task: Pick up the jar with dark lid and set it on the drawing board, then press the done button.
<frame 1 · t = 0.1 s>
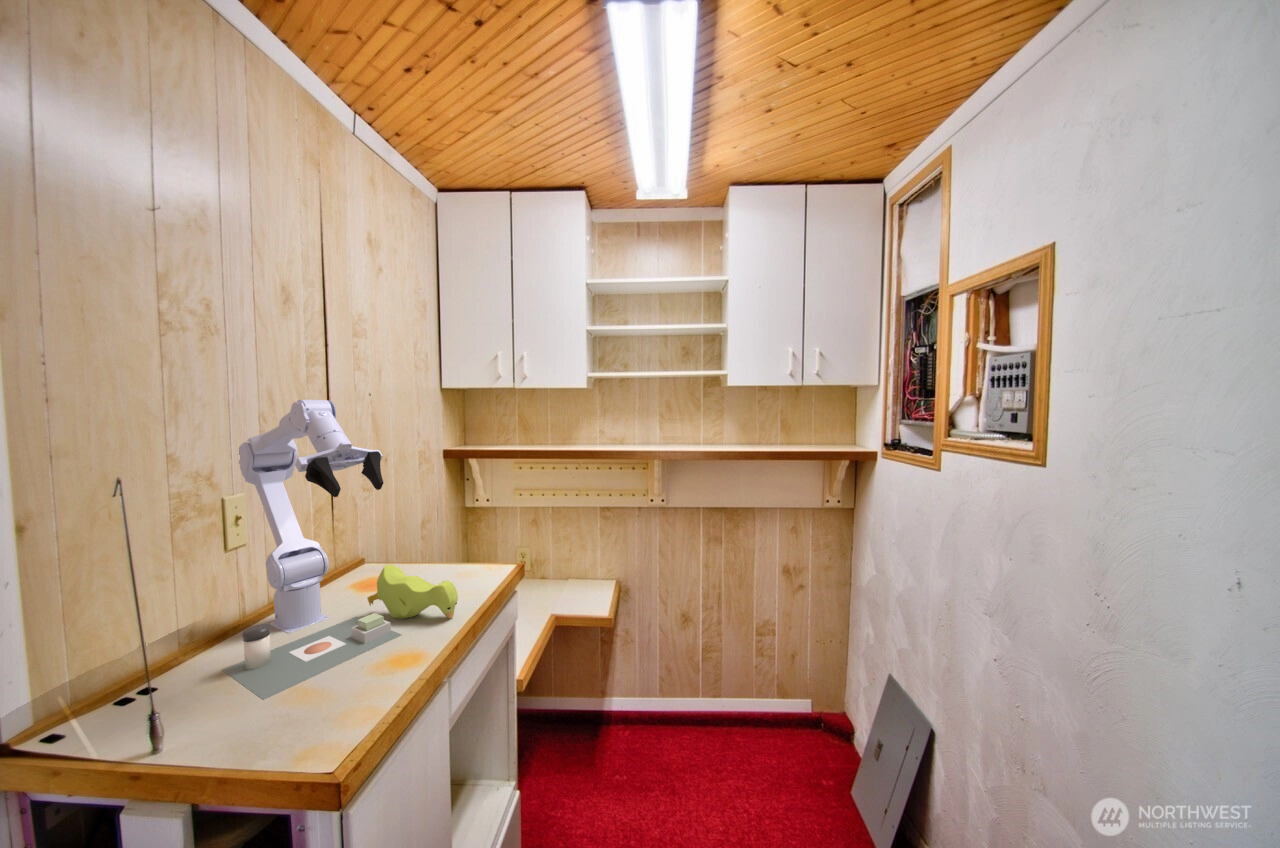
hand: (359, 489, 83), 32 cm above the counter, tool tilted 50°, fingers open, 7 cm apart
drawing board: (317, 653, 85), on the counter
done button: (370, 623, 90), point 3 cm above the counter, slide at 0.0 cm
jar with dark lid: (258, 664, 81), resting on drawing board
toy: (414, 617, 100), on the counter
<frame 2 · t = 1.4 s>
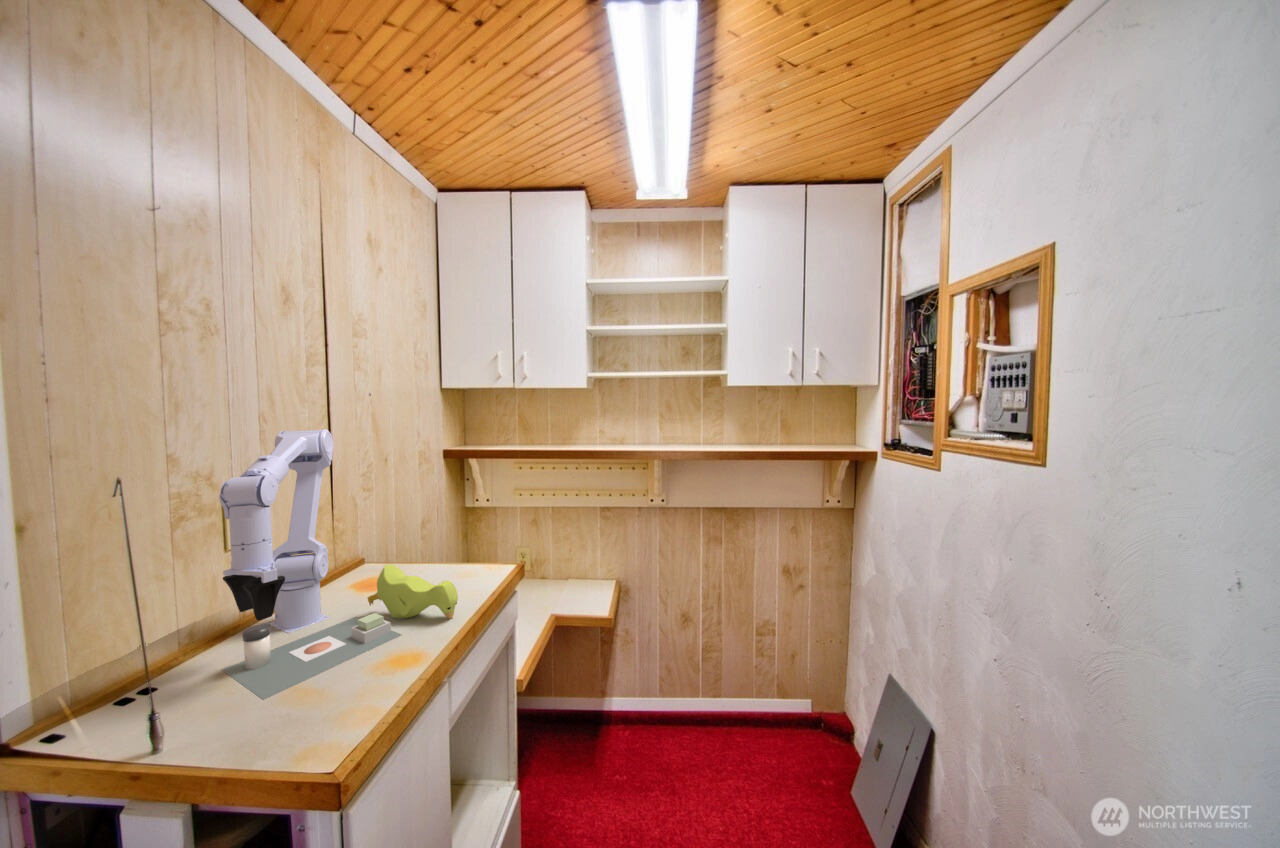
hand: (255, 613, 80), 10 cm above the counter, tool pointing down, fingers open, 7 cm apart
nothing on the counter moved.
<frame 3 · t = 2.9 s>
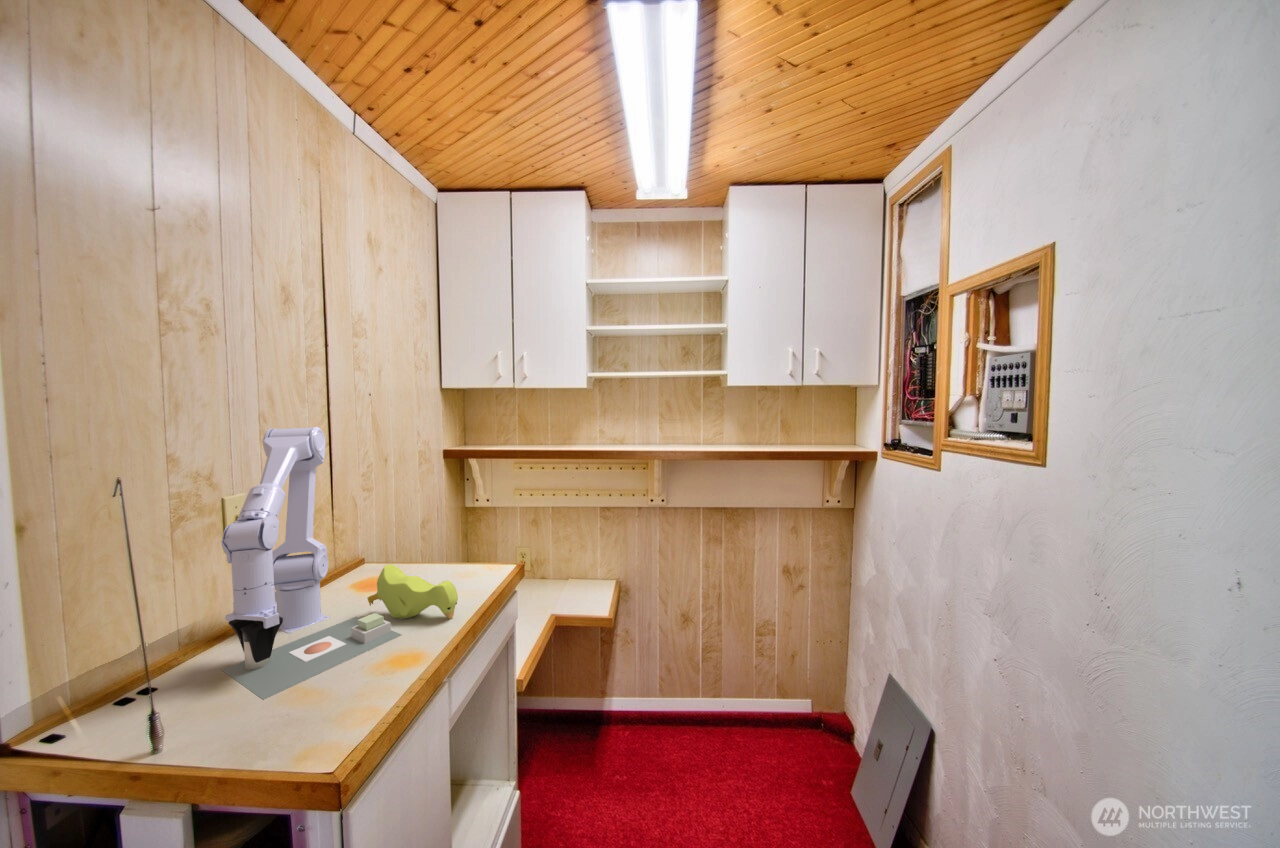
hand: (257, 656, 81), 2 cm above the counter, tool pointing down, fingers closed on jar with dark lid, 4 cm apart
jar with dark lid: (258, 664, 81), resting on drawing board, touching gripper
everything else where it was.
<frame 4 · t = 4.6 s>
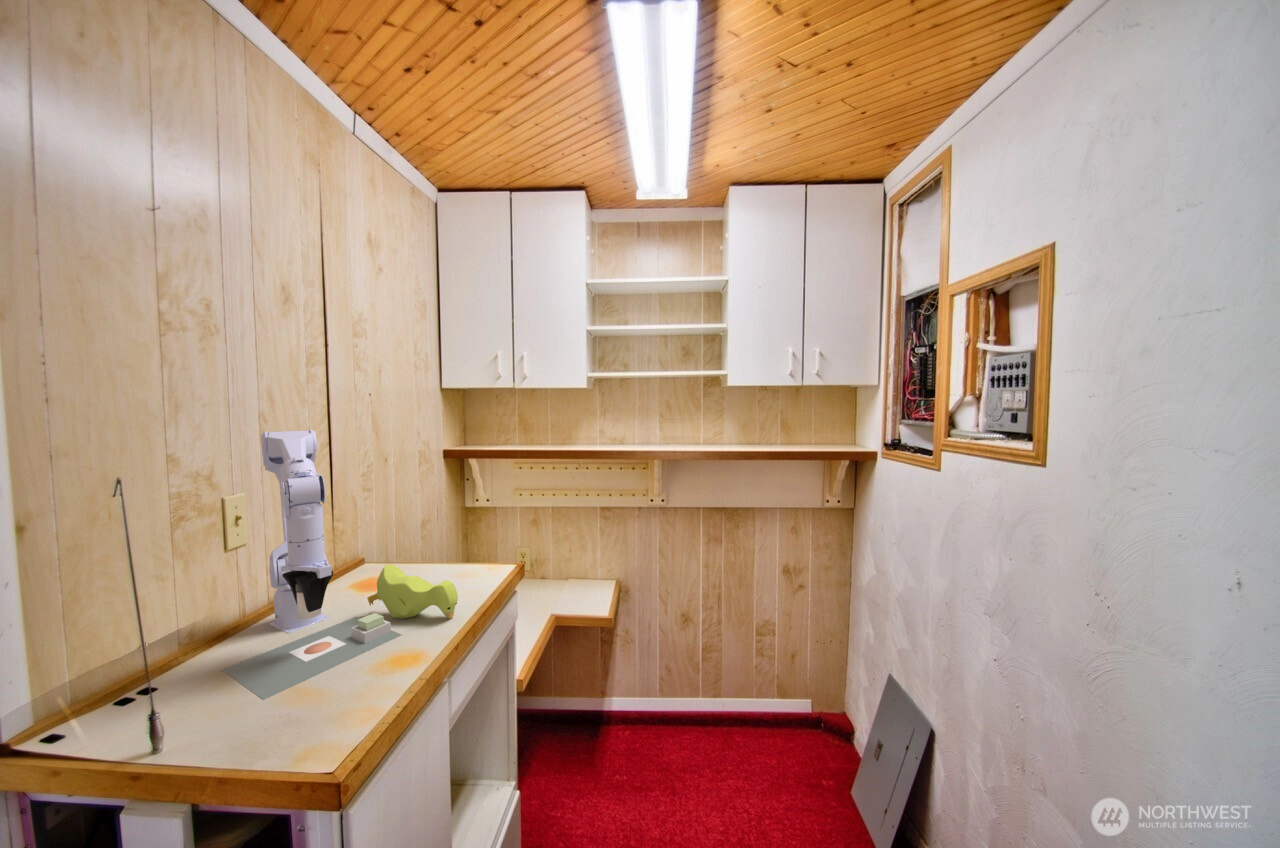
hand: (309, 607, 85), 9 cm above the counter, tool pointing down, fingers closed on jar with dark lid, 4 cm apart
jar with dark lid: (309, 615, 85), point 8 cm above the counter, touching gripper
everything else where it was.
when the fingers open (3 cm above the counter, at t = 6.2 s): jar with dark lid stays where it is, resting on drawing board.
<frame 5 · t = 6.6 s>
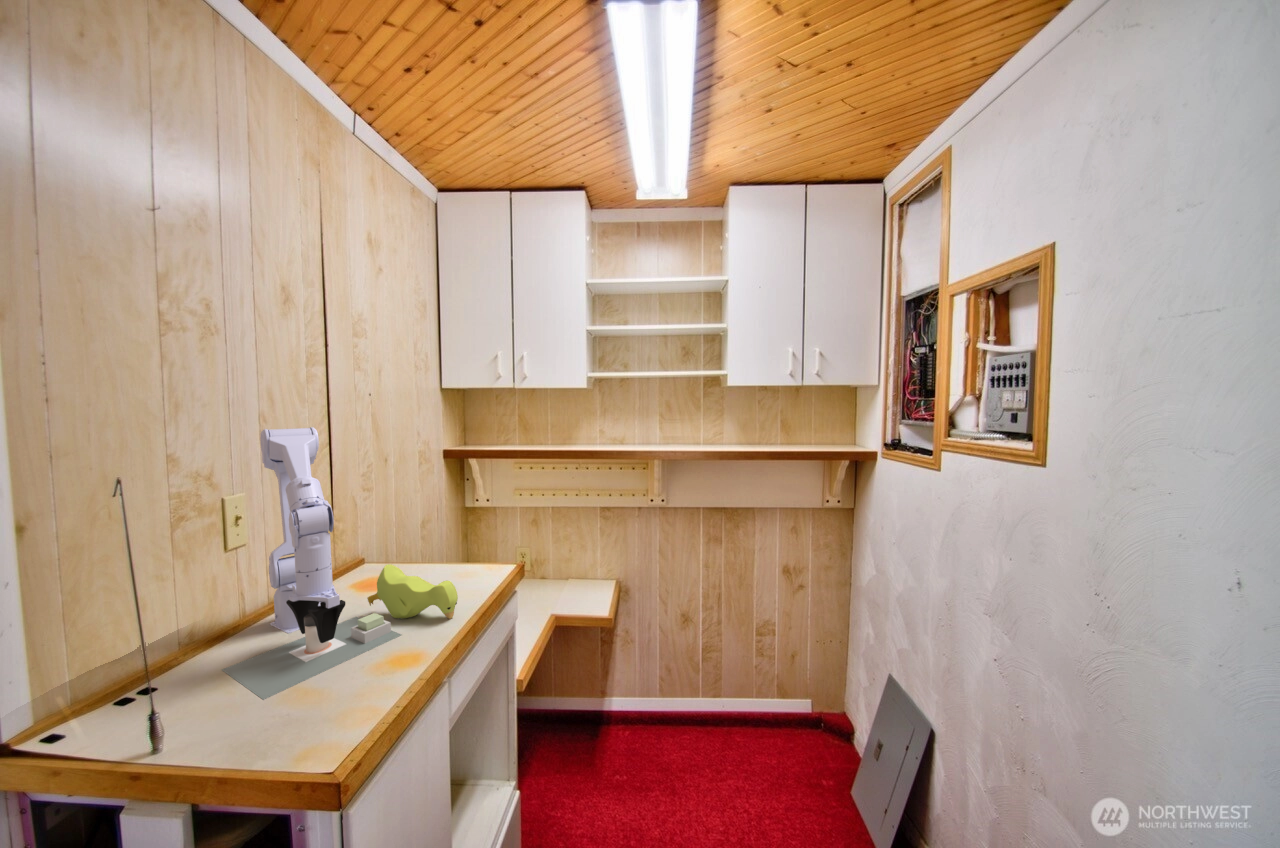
hand: (317, 635, 85), 3 cm above the counter, tool pointing down, fingers open, 7 cm apart
jar with dark lid: (317, 647, 85), point 1 cm above the counter, touching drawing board
everything else where it was.
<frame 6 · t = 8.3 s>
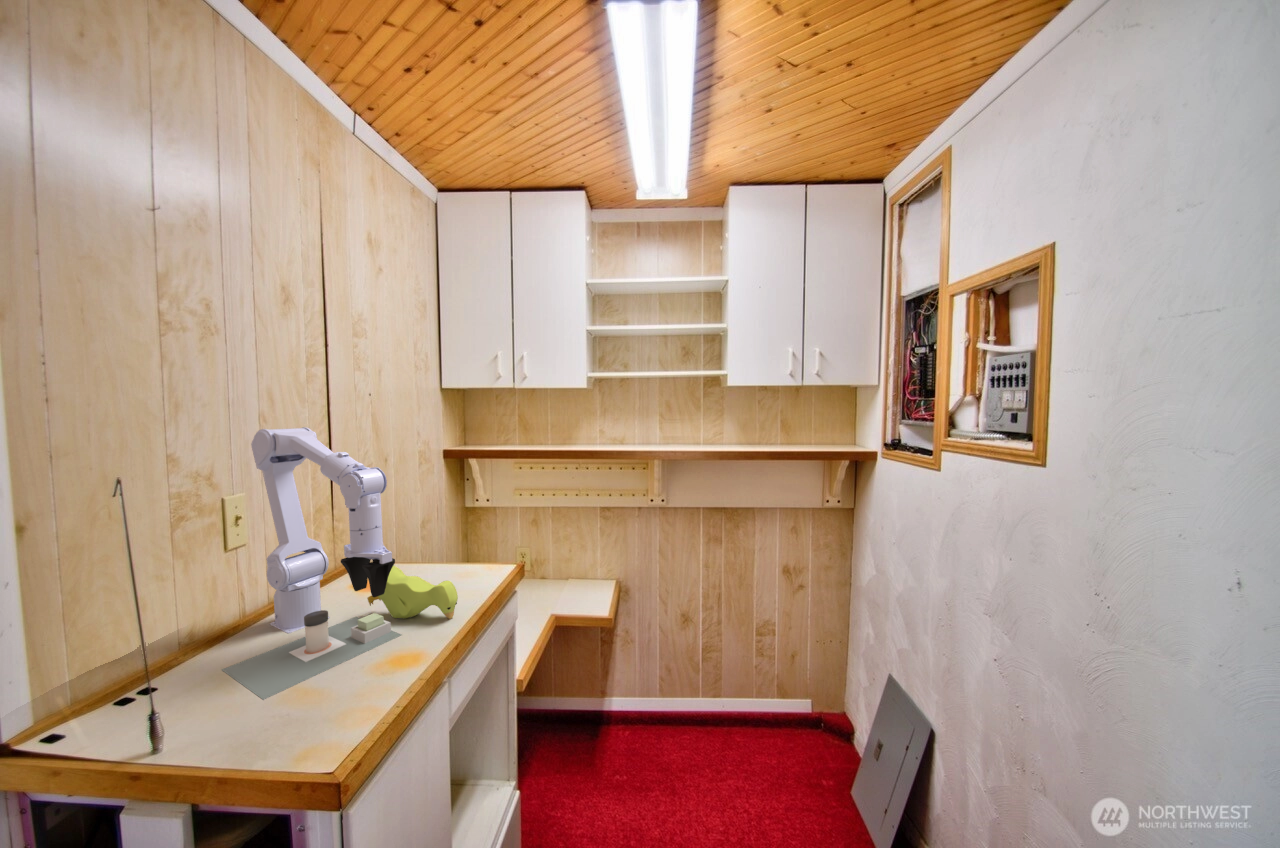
hand: (369, 592, 90), 9 cm above the counter, tool pointing down, fingers open, 6 cm apart
nothing on the counter moved.
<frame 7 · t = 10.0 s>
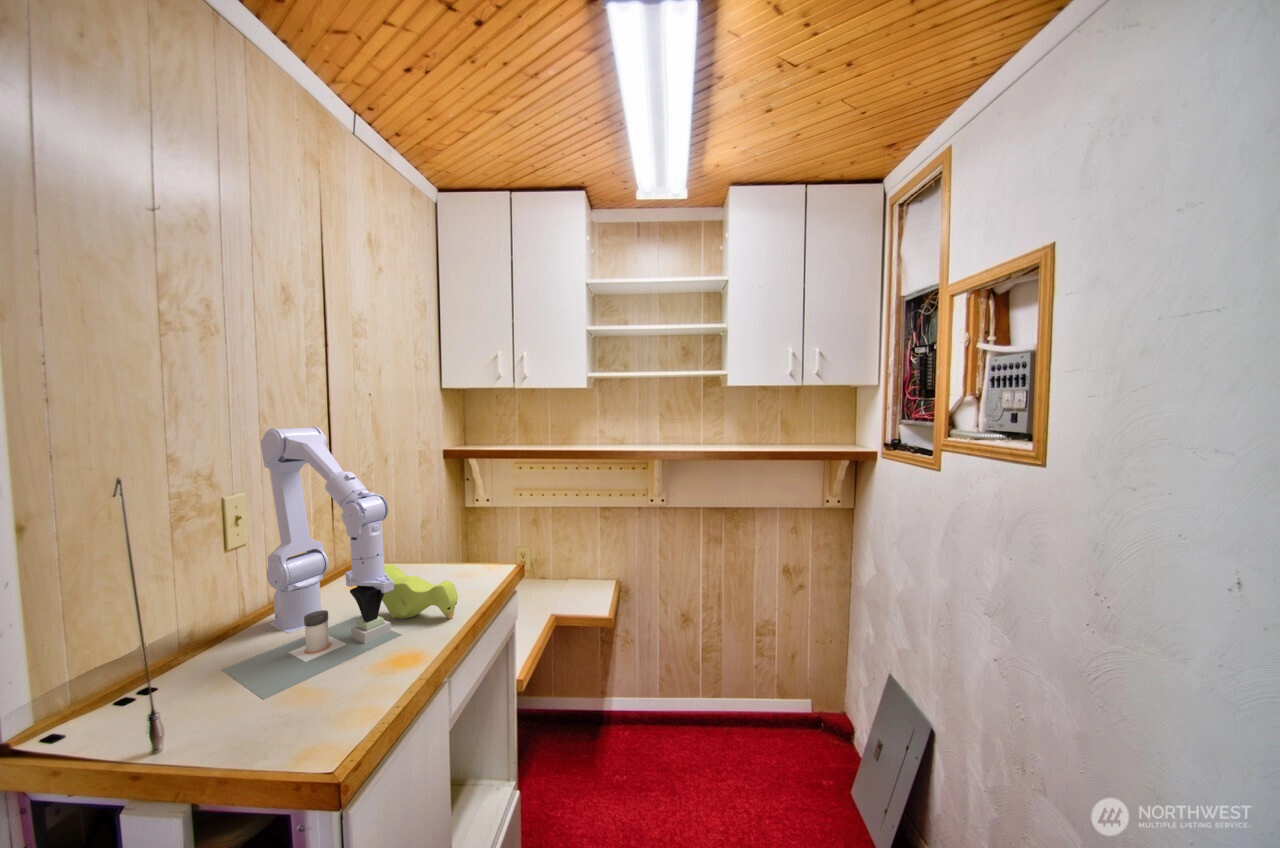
hand: (370, 619, 90), 4 cm above the counter, tool pointing down, fingers closed, pressing on done button
done button: (370, 625, 90), point 2 cm above the counter, slide at 0.4 cm, touching gripper
everything else where it was.
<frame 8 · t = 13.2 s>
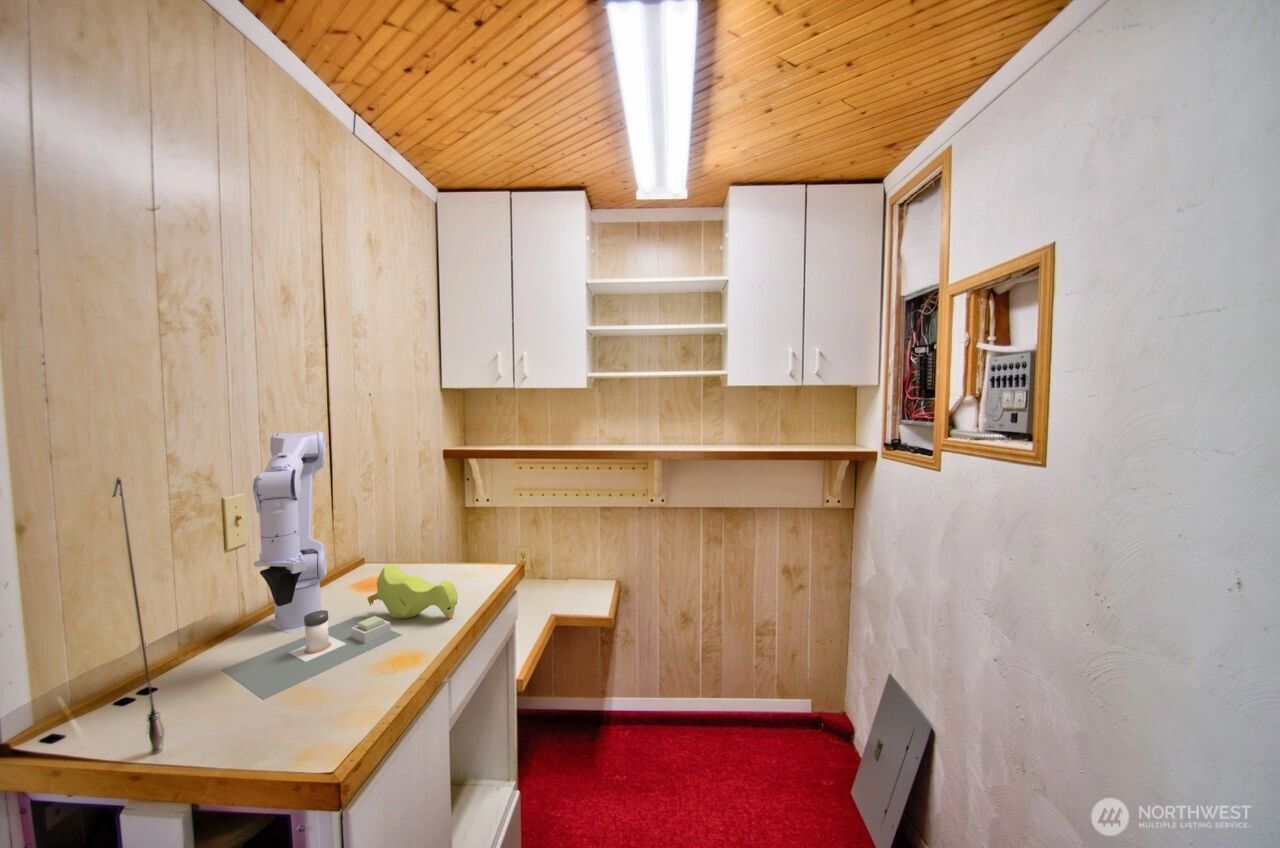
hand: (284, 603, 83), 10 cm above the counter, tool pointing down, fingers closed
done button: (371, 626, 90), point 2 cm above the counter, slide at 0.6 cm
everything else where it was.
at the end: jar with dark lid 0.1 cm from the target spot, point 0.7 cm above the counter; jar with dark lid tilted 0°; done button slide at 0.6 cm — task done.
